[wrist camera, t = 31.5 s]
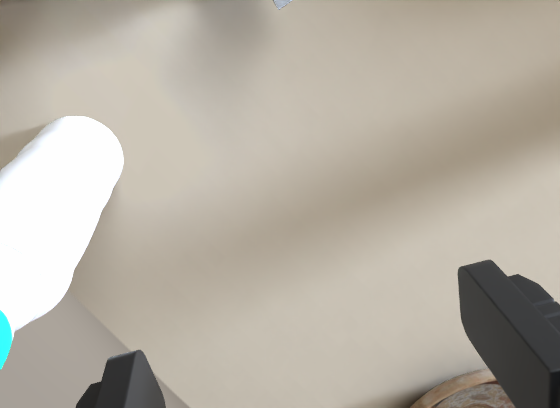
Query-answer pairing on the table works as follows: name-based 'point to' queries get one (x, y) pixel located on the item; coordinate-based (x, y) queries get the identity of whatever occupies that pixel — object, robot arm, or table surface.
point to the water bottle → (50, 215)
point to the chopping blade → (281, 3)
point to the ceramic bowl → (467, 393)
